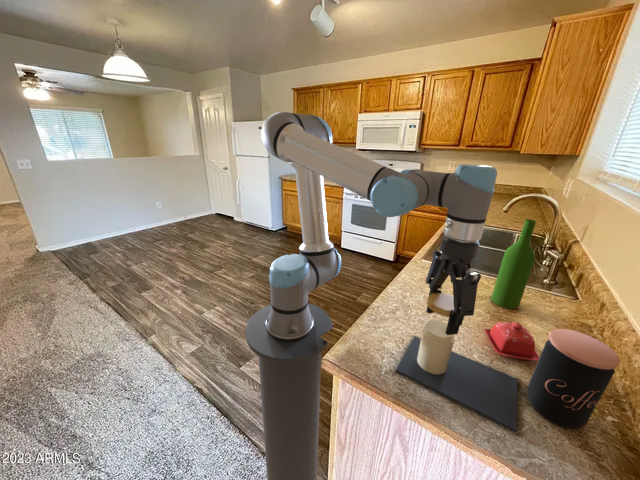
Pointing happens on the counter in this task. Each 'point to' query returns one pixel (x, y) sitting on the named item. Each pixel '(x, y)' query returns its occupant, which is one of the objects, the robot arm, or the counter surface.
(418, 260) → the counter surface
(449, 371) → the mat
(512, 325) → the butter dish
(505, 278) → the wine bottle
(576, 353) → the coffee jar
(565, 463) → the counter surface
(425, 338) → the cream-colored jar
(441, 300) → the lid
